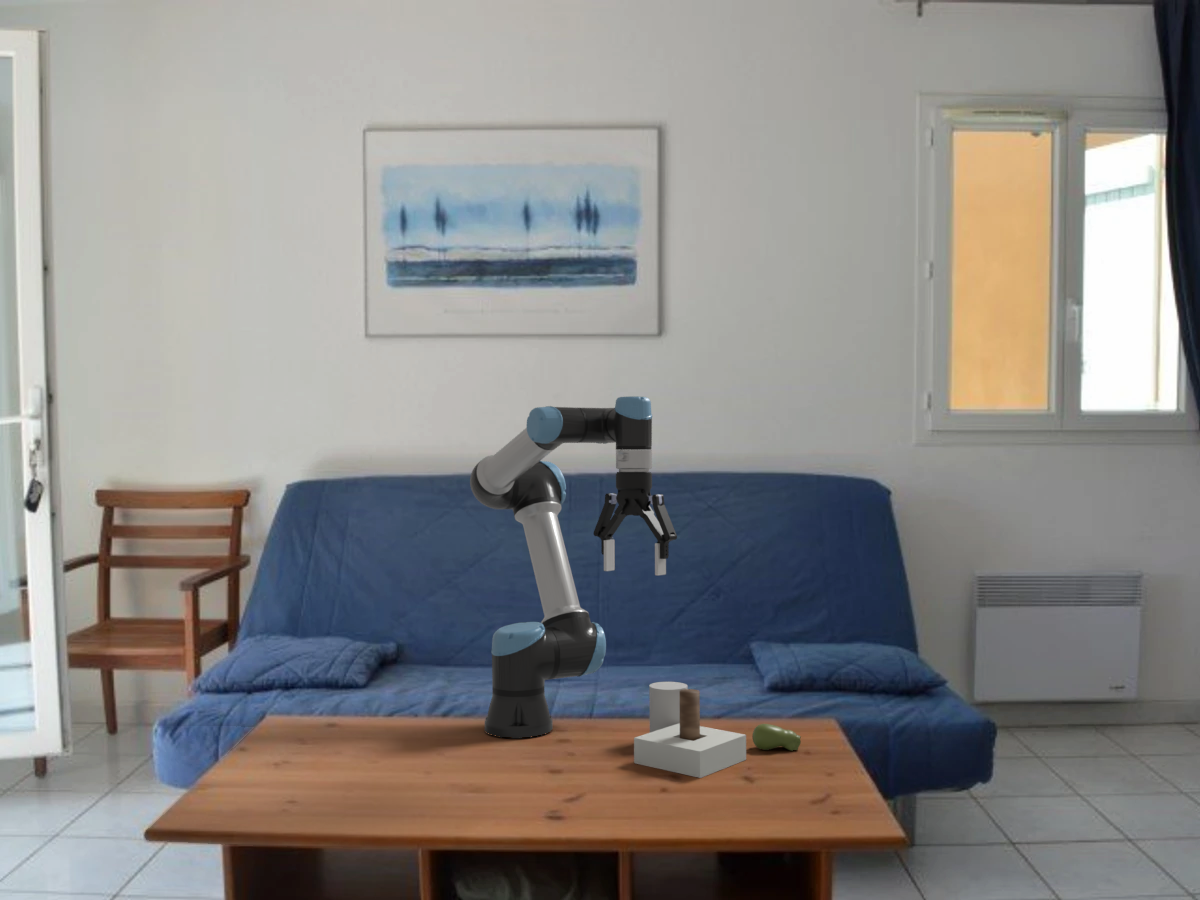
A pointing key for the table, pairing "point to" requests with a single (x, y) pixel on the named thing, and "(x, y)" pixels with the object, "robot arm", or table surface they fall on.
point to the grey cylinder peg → (664, 704)
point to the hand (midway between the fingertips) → (634, 572)
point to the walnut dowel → (690, 714)
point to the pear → (775, 737)
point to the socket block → (690, 750)
